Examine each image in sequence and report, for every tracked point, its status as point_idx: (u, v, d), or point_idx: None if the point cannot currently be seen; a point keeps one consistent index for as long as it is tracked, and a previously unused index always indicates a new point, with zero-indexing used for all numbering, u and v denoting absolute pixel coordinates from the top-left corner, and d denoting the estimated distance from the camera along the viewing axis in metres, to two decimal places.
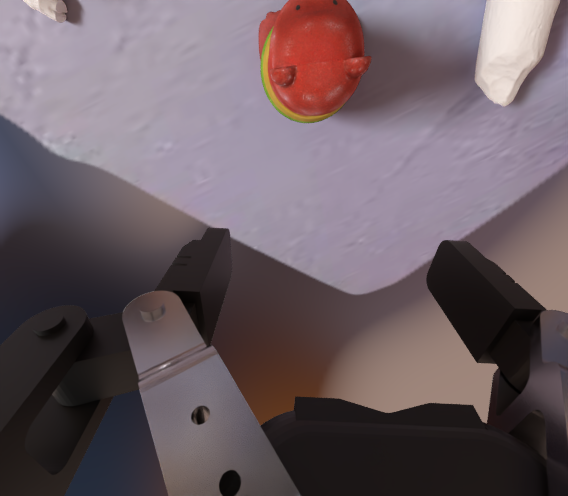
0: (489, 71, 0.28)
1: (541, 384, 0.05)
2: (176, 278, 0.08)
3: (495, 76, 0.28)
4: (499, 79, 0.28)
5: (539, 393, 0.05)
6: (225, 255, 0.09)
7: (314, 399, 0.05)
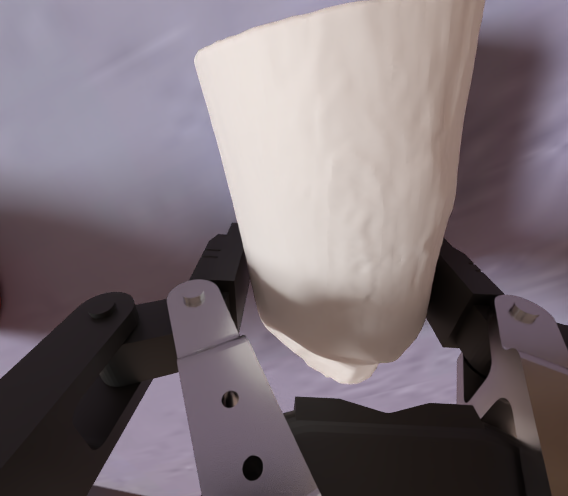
0: None
1: (504, 371, 0.05)
2: (208, 269, 0.08)
3: (300, 344, 0.10)
4: None
5: (503, 380, 0.05)
6: None
7: (314, 399, 0.05)
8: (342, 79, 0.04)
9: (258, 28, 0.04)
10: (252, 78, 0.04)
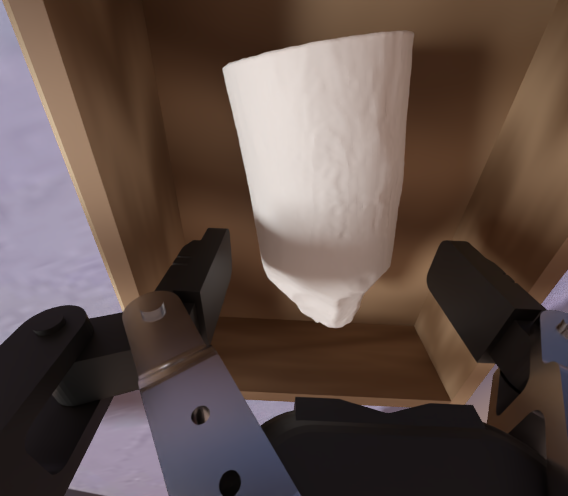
0: (279, 279, 0.12)
1: (541, 384, 0.05)
2: (176, 278, 0.08)
3: (295, 289, 0.12)
4: (305, 295, 0.12)
5: (539, 393, 0.05)
6: (225, 255, 0.09)
7: (314, 399, 0.05)
8: (319, 83, 0.07)
9: (269, 52, 0.07)
10: (264, 82, 0.07)
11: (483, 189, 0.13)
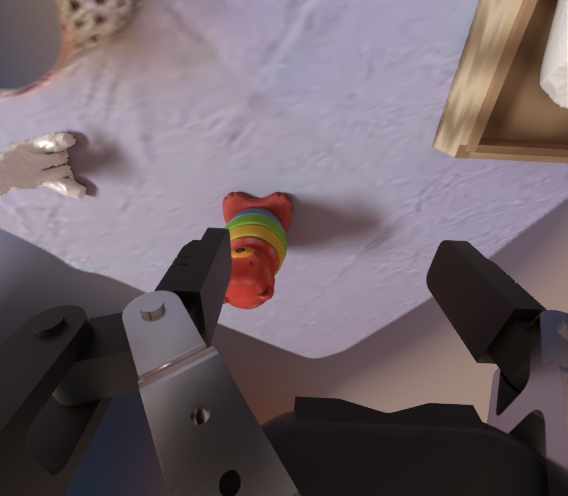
0: (558, 75, 0.28)
1: (541, 384, 0.05)
2: (176, 277, 0.08)
3: (564, 80, 0.28)
4: None
5: (539, 393, 0.05)
6: (225, 255, 0.09)
7: (314, 399, 0.05)
8: None
9: None
10: None
11: None
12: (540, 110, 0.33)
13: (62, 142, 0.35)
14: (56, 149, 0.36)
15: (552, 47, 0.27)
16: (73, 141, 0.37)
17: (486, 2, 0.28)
